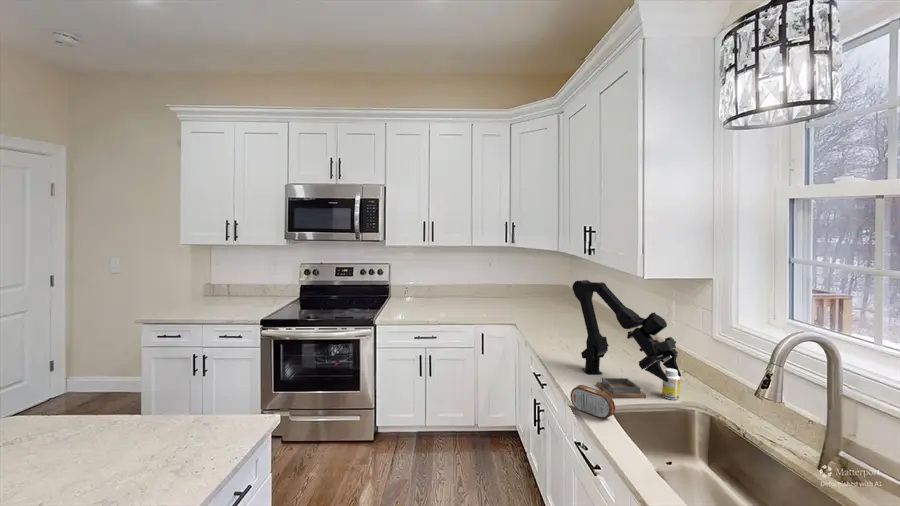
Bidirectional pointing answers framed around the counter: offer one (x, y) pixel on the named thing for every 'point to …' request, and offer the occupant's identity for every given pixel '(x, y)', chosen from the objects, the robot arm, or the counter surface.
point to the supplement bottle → (671, 385)
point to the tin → (592, 401)
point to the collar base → (620, 388)
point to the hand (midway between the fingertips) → (673, 378)
